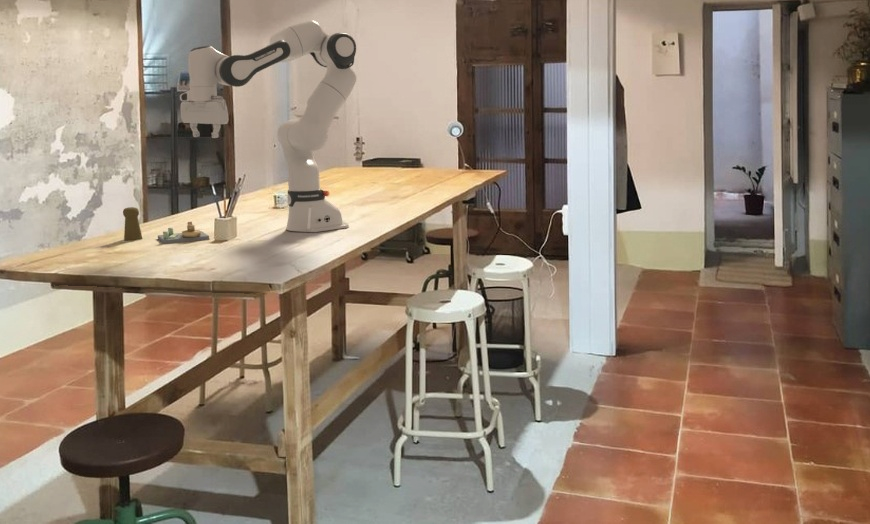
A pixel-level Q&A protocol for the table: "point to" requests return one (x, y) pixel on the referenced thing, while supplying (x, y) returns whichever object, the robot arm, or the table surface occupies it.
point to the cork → (131, 224)
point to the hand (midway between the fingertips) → (205, 137)
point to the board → (179, 237)
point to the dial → (190, 231)
